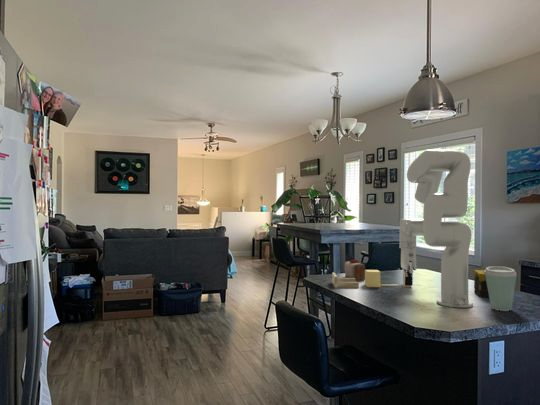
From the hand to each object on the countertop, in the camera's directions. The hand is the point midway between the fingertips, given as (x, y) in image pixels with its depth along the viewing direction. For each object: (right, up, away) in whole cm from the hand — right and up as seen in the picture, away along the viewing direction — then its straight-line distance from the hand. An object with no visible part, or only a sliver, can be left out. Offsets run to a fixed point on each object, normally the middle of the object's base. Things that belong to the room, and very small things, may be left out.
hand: (407, 284), depth 187 cm
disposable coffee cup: (+20, -1, -40) cm, 45 cm away
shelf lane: (-29, -1, +2) cm, 29 cm away
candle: (+28, -1, -18) cm, 34 cm away
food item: (-20, -1, +20) cm, 29 cm away
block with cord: (-9, -1, +1) cm, 9 cm away
